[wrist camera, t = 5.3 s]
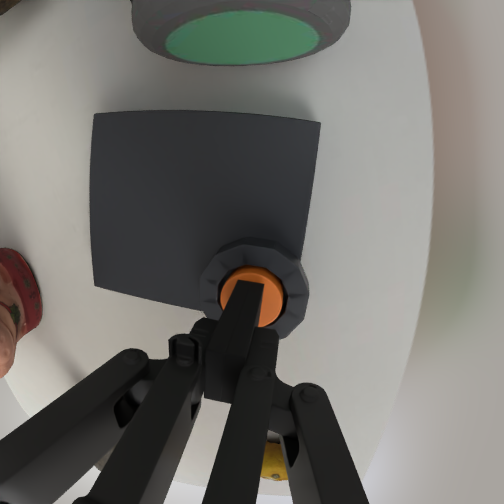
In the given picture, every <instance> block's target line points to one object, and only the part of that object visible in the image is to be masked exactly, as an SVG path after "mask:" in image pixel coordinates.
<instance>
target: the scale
mask: <svg viewBox="0 0 504 504" xmlns="http://www.w3.org/2000/svg"><path fill="white" fill-rule="evenodd" d="M320 127H321V123H320V122H315V121H309V120H302V119H295V118H287V117H279V116H270V115H260V114H250V113H237V112H221V111H197V110H147V111H123V112H108V113H96V114H94V119H93V130H92V142H91V159H90V235H91V252H92V265H93V276H94V285H95V286H97V287H100V288H104V289H108V290H112V291H116V292H120V293H124V294H128V295H132V296H136V297H140V298H144V299H149V300H153V301H157V302H162V303H166V304H171V305H175V306H180V307H185V308H190V309H194V310H199V311H204V313H205V315H206V317H207V318H209V319H214V320H219V319H220V317H221V315H222V312H223V308H222V305H221V291H222V288H223V286H224V284H225V283H226V281H227V279H228V277H229V276H230V274H231V273H232V272H233V271H234V270H235V269H237V268H238V267H241V266H244V265H252V266H258V267H265V268H267V269H268V270H269V271H271V272H272V273H273V274H275V275H276V276H277V277H279V278H280V280H281V282H282V285H283V292H284V293H283V302H282V308H281V311H280V313H279V315H278V317H277V318H276V319H275V320H274V321H273V322H271V323H270V324H268V325H266V326H263V328H269V329H275V330H276V331H277V333H278V335H279V339H283V338H286V337H287V336H288V335H289V334H290V333H291V332H292V331H293V330H294V329H295V328H296V327H297V326H298V325H299V324H300V323H301V322H302V321H303V319H304V317H305V312H306V308H307V303H308V298H309V284H308V280H307V278H306V275H305V272H304V270H303V267H302V265H301V262H300V261H301V255H302V250H303V244H304V238H305V232H306V226H307V219H308V213H309V207H310V200H311V194H312V187H313V180H314V173H315V166H316V158H317V151H318V143H319V135H320Z"/></svg>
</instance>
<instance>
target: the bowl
mask: <svg viewBox="0 0 504 504" xmlns="http://www.w3.org/2000/svg"><path fill="white" fill-rule="evenodd" d="M20 1H21V0H0V15H2V14H4V13H5V12H6V11H8V10H9V9H10V8H12V7H13V6H14V5H16V4H17V3H18V2H20Z"/></svg>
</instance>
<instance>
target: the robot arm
mask: <svg viewBox="0 0 504 504" xmlns="http://www.w3.org/2000/svg"><path fill="white" fill-rule="evenodd" d="M263 291H264V284H263V283H257V282H250V281H244V280H237V282H236V285H235V287H234V289H233V291H232V293H231V295H230V297H229V300H228V302H227V304H226V306H225V308H224V310H223V312H222V315H221V317H220V319H219V320H214V319H209V318H204V317H203V318H201V319H200V320H198V321H197V322H196V323H195V324H194V326H193V328H192V330H191V331H190V333H189V334H177V335H174V336H172V337H171V338H170V339H169V340H168V341H169V357H168V359H160V360H158V359H149V357H148V355H147V353H145V352H144V351H143V350H140V349H134V348H130V349H125V350H123V351H121V352H120V353H118V354H117V355H115V356H114V357H113V358H111V359H110V360H109V361H107V362H106V363H105V364H103V365H102V366H101V367H99V368H98V369H96V370H95V371H94V372H92V373H91V374H90V375H88V376H87V377H86V378H84V379H83V380H82V381H80V382H79V383H78V384H76V385H75V386H73V387H72V388H71V389H69V390H68V391H67V392H65V393H64V394H63V395H61V396H60V397H59V398H57V399H56V400H54V401H53V402H52V403H50V404H49V405H48V406H46V407H45V408H44V409H42V410H41V411H39V412H38V413H37V414H35V415H34V416H33V417H31V418H30V419H29V420H27V421H26V422H25V423H23V424H22V425H20V426H19V427H18V428H16V429H15V430H14V431H12V432H11V433H10V434H8V435H7V436H6V437H4V438H3V439H1V440H0V504H53V503H54V502H55V501H56V500H57V499H58V498H59V497H61V496H62V495H63V494H64V493H65V492H66V491H67V490H68V489H69V488H70V487H72V486H73V485H74V484H75V483H76V482H77V481H78V480H79V479H80V478H81V477H82V476H83V475H84V474H85V473H86V472H87V471H89V470H90V469H91V468H92V467H93V466H94V465H95V464H96V463H97V462H98V461H99V460H100V459H101V458H102V457H103V456H104V455H105V454H106V453H108V452H109V451H110V450H111V449H112V448H113V447H114V446H115V445H116V444H117V445H116V447H115V448H114V450H113V452H112V454H111V455H110V457H109V459H108V461H107V462H106V464H105V466H104V468H103V469H102V471H101V473H100V474H99V476H98V478H97V480H96V481H95V483H94V485H93V487H92V489H91V490H90V492H89V493H88V495H86V496H84V497H79V498H77V499H76V500H74V502H73V503H72V504H163V503H164V500H165V498H166V495H167V493H168V490H169V488H170V485H171V482H172V480H173V477H174V475H175V472H176V470H177V467H178V464H179V462H180V459H181V457H182V454H183V452H184V449H185V446H186V444H187V441H188V439H189V436H190V434H191V431H192V428H193V426H194V423H195V421H196V418H197V415H198V413H199V410H200V408H201V397H202V395H203V392H204V398H206V399H211V400H215V401H220V402H225V403H230V404H231V407H230V411H229V414H228V418H227V421H226V425H225V428H224V432H223V435H222V438H221V442H220V445H219V449H218V452H217V455H216V459H215V462H214V465H213V469H212V472H211V475H210V479H209V482H208V485H207V488H206V492H205V495H204V498H203V501H202V504H256V499H257V493H258V488H259V482H260V476H261V470H262V464H263V458H264V452H265V445H266V439H267V432H268V430H271V431H273V432H275V433H278V434H279V438H280V443H281V448H282V453H283V457H284V462H285V467H286V472H287V476H288V481H289V486H290V491H291V495H292V500H293V504H369V502H368V499H367V497H366V494H365V491H364V489H363V486H362V483H361V481H360V478H359V475H358V473H357V470H356V468H355V465H354V462H353V460H352V457H351V455H350V452H349V450H348V447H347V444H346V442H345V439H344V437H343V434H342V432H341V429H340V427H339V424H338V421H337V419H336V416H335V414H334V411H333V409H332V406H331V404H330V401H329V399H328V396H327V394H326V392H325V391H324V389H323V388H321V387H320V386H318V385H316V384H313V383H301V384H298V385H296V386H294V387H292V386H289V385H287V384H285V383H283V382H282V381H281V380H279V378H278V377H277V375H276V373H275V368H276V360H277V352H278V344H279V335H278V333H277V331H276V330H275V329H269V328H263V327H258V325H259V319H260V312H261V305H262V298H263Z"/></svg>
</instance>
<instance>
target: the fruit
mask: <svg viewBox="0 0 504 504" xmlns="http://www.w3.org/2000/svg"><path fill="white" fill-rule="evenodd" d="M260 477H262V478H265V479H272V480H274V481H282V480H288V476H287V472H286V467H285V462H284V457H283V453H282V448H281V444H277V443H270V442H268V441H266V445H265V452H264V458H263V464H262V470H261V476H260Z"/></svg>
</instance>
